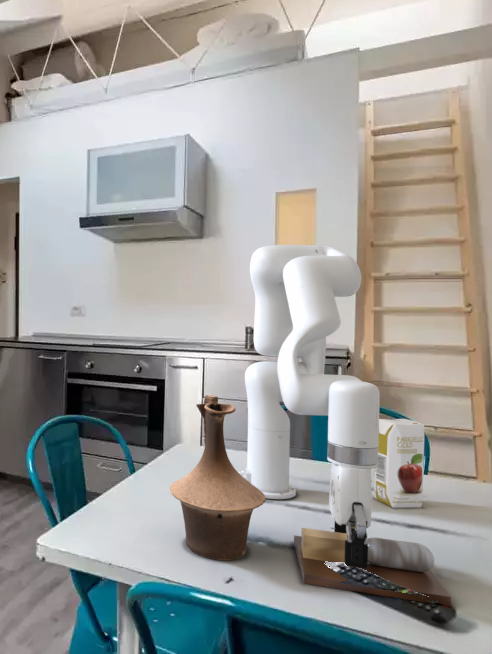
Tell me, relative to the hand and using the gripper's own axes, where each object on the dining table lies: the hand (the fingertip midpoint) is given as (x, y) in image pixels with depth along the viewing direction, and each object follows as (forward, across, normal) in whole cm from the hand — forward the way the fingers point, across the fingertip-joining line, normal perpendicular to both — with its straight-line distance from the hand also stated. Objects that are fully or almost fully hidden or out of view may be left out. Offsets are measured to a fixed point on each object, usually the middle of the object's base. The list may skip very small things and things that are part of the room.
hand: (349, 553), depth 93 cm
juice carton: (+3, -40, +17) cm, 43 cm away
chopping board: (+3, 0, +2) cm, 3 cm away
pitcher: (+3, -1, -22) cm, 22 cm away
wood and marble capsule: (+1, 0, +3) cm, 3 cm away
